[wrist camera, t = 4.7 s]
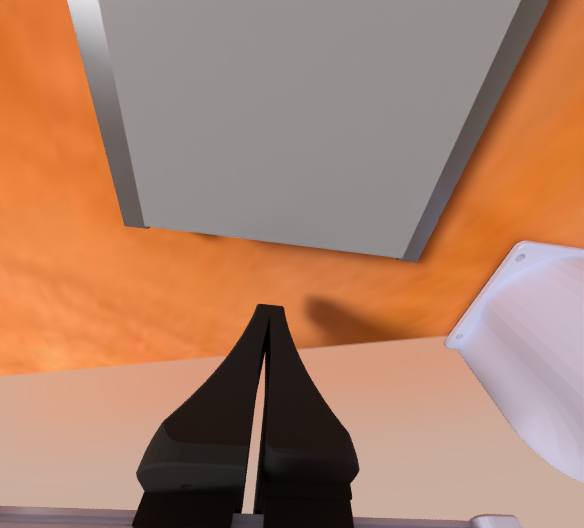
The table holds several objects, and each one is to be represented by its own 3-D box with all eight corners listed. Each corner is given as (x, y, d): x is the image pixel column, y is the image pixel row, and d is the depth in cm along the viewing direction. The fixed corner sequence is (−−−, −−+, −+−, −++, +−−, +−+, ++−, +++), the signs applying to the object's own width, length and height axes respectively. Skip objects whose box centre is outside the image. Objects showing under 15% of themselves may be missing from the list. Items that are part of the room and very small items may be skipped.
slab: (389, 242, 11) (402, 258, 10) (162, 212, 10) (144, 226, 9) (626, -336, 4) (753, -504, 3) (42, -550, 4) (-84, -885, 2)
